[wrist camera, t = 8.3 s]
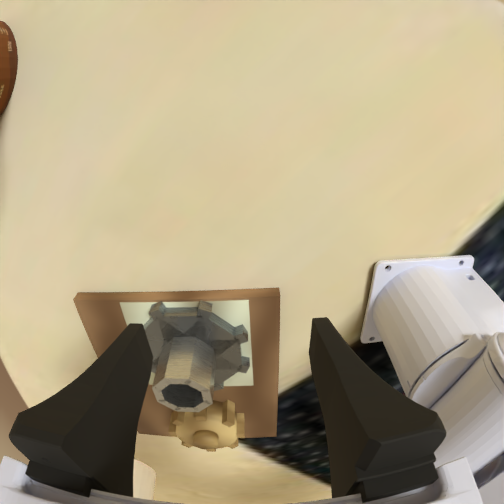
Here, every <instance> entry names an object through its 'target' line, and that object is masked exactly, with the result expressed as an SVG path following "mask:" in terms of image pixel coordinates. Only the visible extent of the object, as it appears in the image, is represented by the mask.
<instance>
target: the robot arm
mask: <svg viewBox="0 0 504 504" xmlns="http://www.w3.org/2000/svg"><path fill="white" fill-rule="evenodd" d="M460 261H461V262H460ZM459 262H460V263H459ZM473 263H474V258H473V257H472V256H471V255H463V256H448V257H432V258H416V259H400V260H382V261H379V262H377V263H376V264H375V266H374V272H373V277H372V283H371V288H370V293H369V299H368V304H367V308H366V313H365V318H364V323H363V327H362V332H361V336H360V340H361V342H362V343H372V342H380V341H383V343H384V346H385V348H386V350H387V352H388V355H389V357H390V359H391V361H392V364H393V366H394V368H395V371H396V373H397V376H398V378H399V380H400V383H401V385H402V388H403V390H404V392H405V395H406V396H404V395H403V394H401V393H400V392H399V391H397V390H396V389H394V388H393V387H391V386H390V385H389V384H387V383H386V382H385V381H384V380H382V379H381V378H380V377H379V376H378V375H377V374H375V373H374V372H373V371H372V370H371V369H370V368H369V367H368V366H367V365H366V364H365V363H364V362H363V361H362V360H361V359H360V358H359V357H358V356H357V354H356V353H355V352H354V351H353V350H352V349H351V348H350V346H349V345H348V344H347V343H346V342H345V340H344V339H343V338H342V337H341V335H340V334H339V333H338V331H337V330H336V329H335V327H334V326H333V324H332V323H331V322H330V320H329V319H328V318H327V317H325V318H313V319H312V329H311V339H310V348H309V356H310V364H311V371H312V376H313V379H314V383H315V387H316V391H317V395H318V398H319V402H320V406H321V410H322V413H323V418H324V423H325V429H326V437H327V444H328V453H329V463H330V474H331V488H332V498H331V499H324V500H317V501H309V502H300V503H289V504H504V302H503V301H502V300H501V299H500V298H499V297H498V296H497V294H496V293H495V292H494V291H493V290H492V289H491V288H490V287H489V286H488V285H487V283H486V282H485V281H484V280H483V279H482V278H481V277H480V276H479V275H478V274H477V273H476V272H475V271H474V270H473V269H472V267H473ZM388 265H389V267H388V268H387V269H385V267H386V266H388ZM371 337H372V338H371ZM152 362H153V354H152V351H151V348H150V345H149V342H148V339H147V336H146V333H145V330H144V326H143V324H139V323H130V324H129V325H128V326H127V327H126V328H125V329H124V330H123V331H122V333H121V334H120V335H119V336H118V337H117V338H116V339H115V341H114V342H113V343H112V344H111V345H110V346H109V347H108V348H107V349H106V351H105V352H104V353H103V354H102V355H101V356H100V357H99V358H98V359H97V360H96V361H95V362H94V363H93V364H92V365H91V366H90V367H89V368H88V369H87V370H86V371H85V372H84V373H82V374H81V375H80V376H79V377H78V378H77V379H75V380H74V381H73V382H72V383H70V384H69V385H68V386H66V387H65V388H63V389H62V390H61V391H59V392H58V393H56V394H55V395H53V396H52V397H50V398H48V399H47V400H45V401H43V402H41V403H39V404H38V405H36V406H33V407H31V408H29V409H27V410H25V411H23V412H20V413H19V414H18V416H17V418H16V420H15V422H14V424H13V427H12V429H11V431H10V434H9V438H10V440H11V442H12V443H13V444H14V446H15V447H16V448H17V449H18V450H19V451H20V452H22V453H23V454H24V455H25V456H26V457H27V458H28V459H29V460H30V461H29V464H28V465H26V464H25V463H23V462H21V461H18V460H16V459H13V458H11V457H8V456H4V457H3V460H2V462H1V465H0V504H182V503H172V502H163V501H155V500H147V499H141V498H134V497H133V470H134V453H135V442H136V434H137V427H138V421H139V417H140V413H141V409H142V406H143V402H144V398H145V395H146V391H147V387H148V384H149V380H150V376H151V369H152Z"/></svg>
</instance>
